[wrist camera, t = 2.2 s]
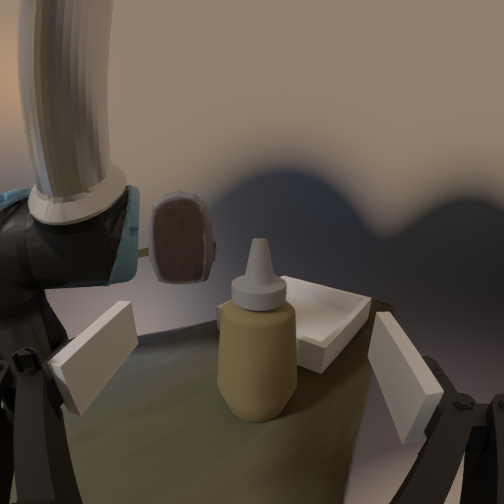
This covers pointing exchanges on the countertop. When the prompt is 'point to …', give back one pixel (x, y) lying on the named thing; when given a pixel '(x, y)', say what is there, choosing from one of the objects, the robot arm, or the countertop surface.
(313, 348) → the box
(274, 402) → the squeeze bottle
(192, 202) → the small grey backpack
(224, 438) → the countertop surface
